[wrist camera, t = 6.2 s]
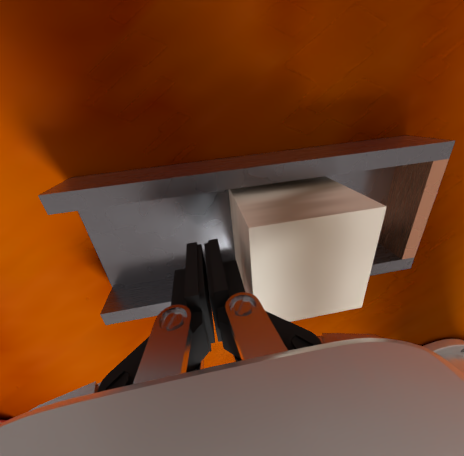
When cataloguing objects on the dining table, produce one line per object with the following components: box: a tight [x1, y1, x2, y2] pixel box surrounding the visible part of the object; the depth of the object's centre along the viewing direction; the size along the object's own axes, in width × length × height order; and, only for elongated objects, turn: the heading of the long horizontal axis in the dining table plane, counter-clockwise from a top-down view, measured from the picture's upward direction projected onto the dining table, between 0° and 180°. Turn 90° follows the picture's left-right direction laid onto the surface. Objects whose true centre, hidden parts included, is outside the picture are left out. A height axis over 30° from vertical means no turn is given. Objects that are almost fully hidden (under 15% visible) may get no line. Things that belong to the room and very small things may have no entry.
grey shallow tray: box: [38, 135, 455, 325], centre depth 15 cm, size 22×9×3 cm, turn 95°
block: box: [229, 176, 387, 322], centre depth 13 cm, size 6×6×6 cm
